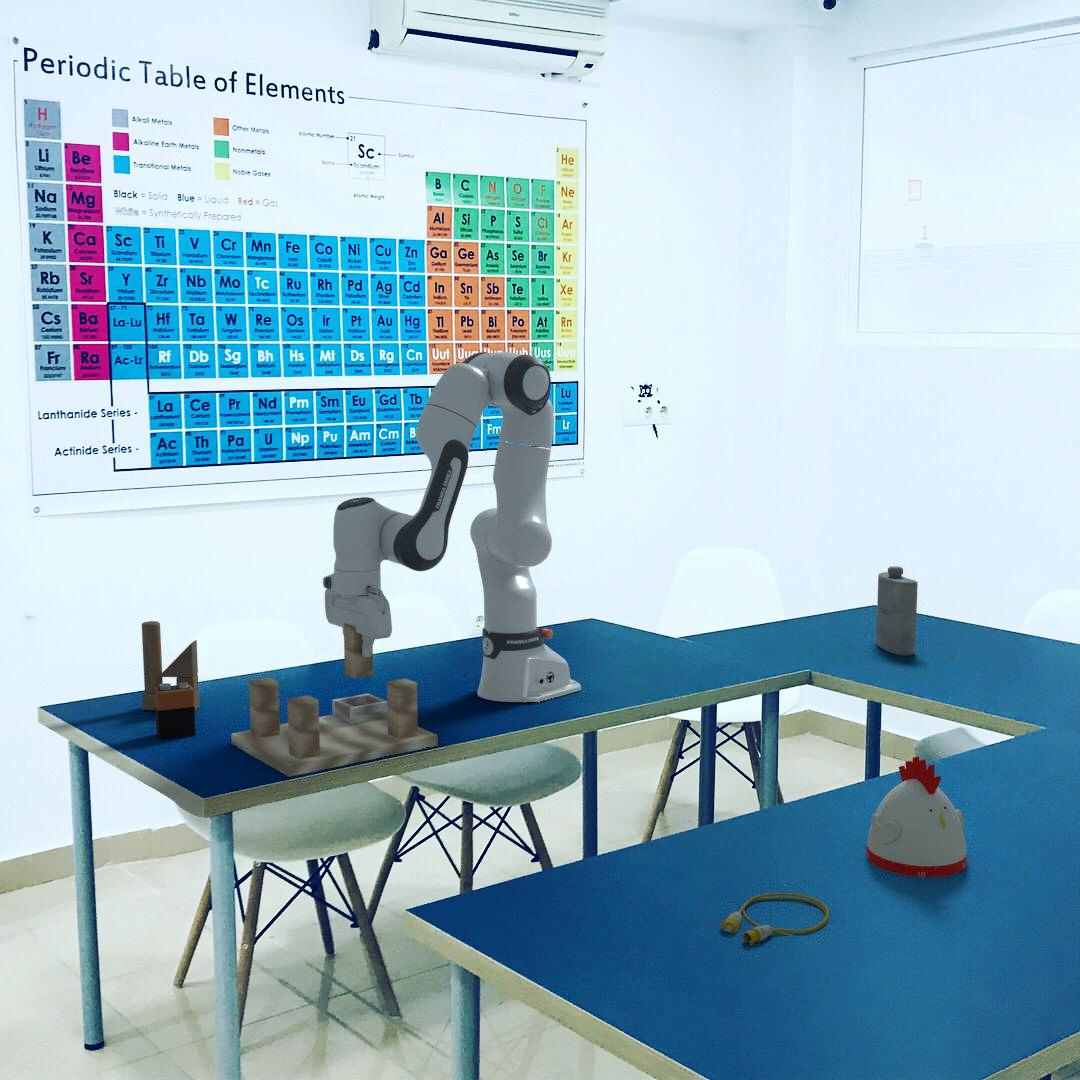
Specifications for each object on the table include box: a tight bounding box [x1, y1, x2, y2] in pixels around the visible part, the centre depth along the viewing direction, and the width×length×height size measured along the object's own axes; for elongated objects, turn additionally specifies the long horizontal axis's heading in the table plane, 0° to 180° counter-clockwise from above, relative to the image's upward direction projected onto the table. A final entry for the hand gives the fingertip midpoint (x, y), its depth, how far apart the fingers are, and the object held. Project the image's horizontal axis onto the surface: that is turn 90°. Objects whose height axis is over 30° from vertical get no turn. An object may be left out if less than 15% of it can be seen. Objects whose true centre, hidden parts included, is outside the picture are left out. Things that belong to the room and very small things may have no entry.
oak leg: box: [343, 623, 374, 679], centre depth 261 cm, size 4×4×10 cm
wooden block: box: [141, 620, 200, 711], centre depth 274 cm, size 4×11×18 cm, turn 87°
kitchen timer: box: [865, 756, 967, 878], centre depth 194 cm, size 14×14×15 cm
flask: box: [875, 565, 918, 657], centre depth 325 cm, size 15×6×20 cm, turn 9°
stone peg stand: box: [231, 677, 439, 778], centre depth 250 cm, size 30×24×12 cm
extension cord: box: [720, 892, 830, 946], centre depth 175 cm, size 12×16×2 cm
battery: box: [155, 682, 197, 740], centre depth 257 cm, size 4×7×10 cm, turn 114°
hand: (359, 653), depth 261 cm, fingers closed on oak leg, 4 cm apart
